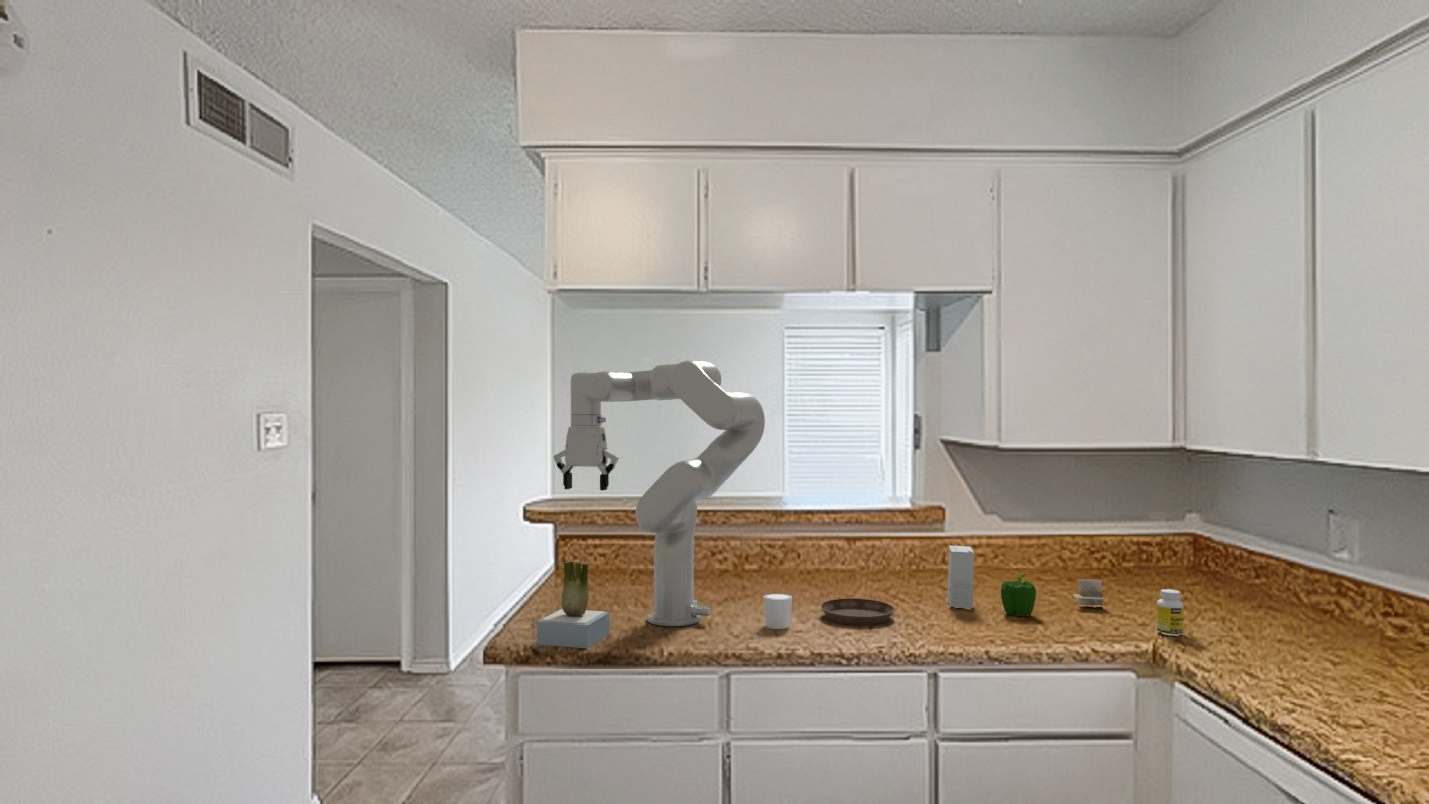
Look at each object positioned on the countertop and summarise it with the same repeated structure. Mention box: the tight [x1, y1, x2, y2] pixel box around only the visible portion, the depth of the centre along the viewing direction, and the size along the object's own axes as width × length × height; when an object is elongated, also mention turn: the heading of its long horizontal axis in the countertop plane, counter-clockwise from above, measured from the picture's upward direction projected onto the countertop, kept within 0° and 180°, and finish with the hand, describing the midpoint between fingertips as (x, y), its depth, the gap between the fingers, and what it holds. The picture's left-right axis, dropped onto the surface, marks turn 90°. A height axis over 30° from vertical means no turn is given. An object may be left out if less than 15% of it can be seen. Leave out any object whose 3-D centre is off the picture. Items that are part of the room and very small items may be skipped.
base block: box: [536, 608, 610, 649], centre depth 202 cm, size 12×12×5 cm
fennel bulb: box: [561, 560, 589, 616], centre depth 202 cm, size 6×5×12 cm
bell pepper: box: [1000, 572, 1037, 617], centre depth 225 cm, size 8×8×10 cm
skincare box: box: [947, 545, 975, 609], centre depth 235 cm, size 8×6×15 cm
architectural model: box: [1073, 579, 1105, 607], centre depth 232 cm, size 3×7×7 cm, turn 78°
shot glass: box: [762, 593, 793, 630], centre depth 214 cm, size 7×7×7 cm
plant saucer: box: [820, 597, 895, 626], centre depth 222 cm, size 18×18×3 cm
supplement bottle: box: [1156, 588, 1185, 635], centre depth 207 cm, size 5×5×10 cm
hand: (585, 489), depth 231 cm, fingers open, 9 cm apart
